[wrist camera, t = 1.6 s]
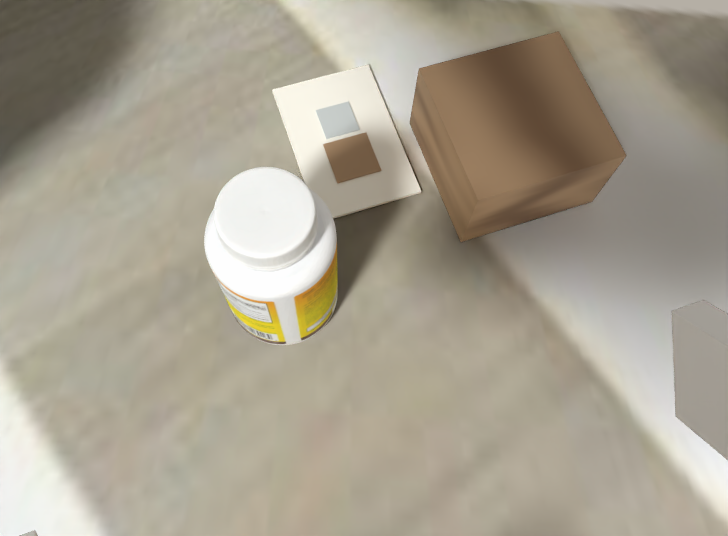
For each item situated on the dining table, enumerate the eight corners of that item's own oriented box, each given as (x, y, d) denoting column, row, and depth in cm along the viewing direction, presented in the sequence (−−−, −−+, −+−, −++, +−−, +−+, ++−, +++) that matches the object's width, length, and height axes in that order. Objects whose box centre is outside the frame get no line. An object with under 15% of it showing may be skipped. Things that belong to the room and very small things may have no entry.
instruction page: (318, 223, 38) (318, 220, 37) (272, 91, 41) (271, 88, 40) (420, 192, 39) (421, 190, 38) (368, 66, 42) (368, 63, 41)
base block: (460, 242, 38) (478, 200, 33) (409, 123, 40) (418, 68, 36) (592, 201, 39) (626, 155, 34) (534, 88, 42) (558, 31, 37)
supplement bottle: (331, 243, 37) (329, 141, 28) (343, 341, 35) (345, 269, 26) (227, 253, 37) (189, 154, 27) (233, 354, 35) (195, 285, 25)
